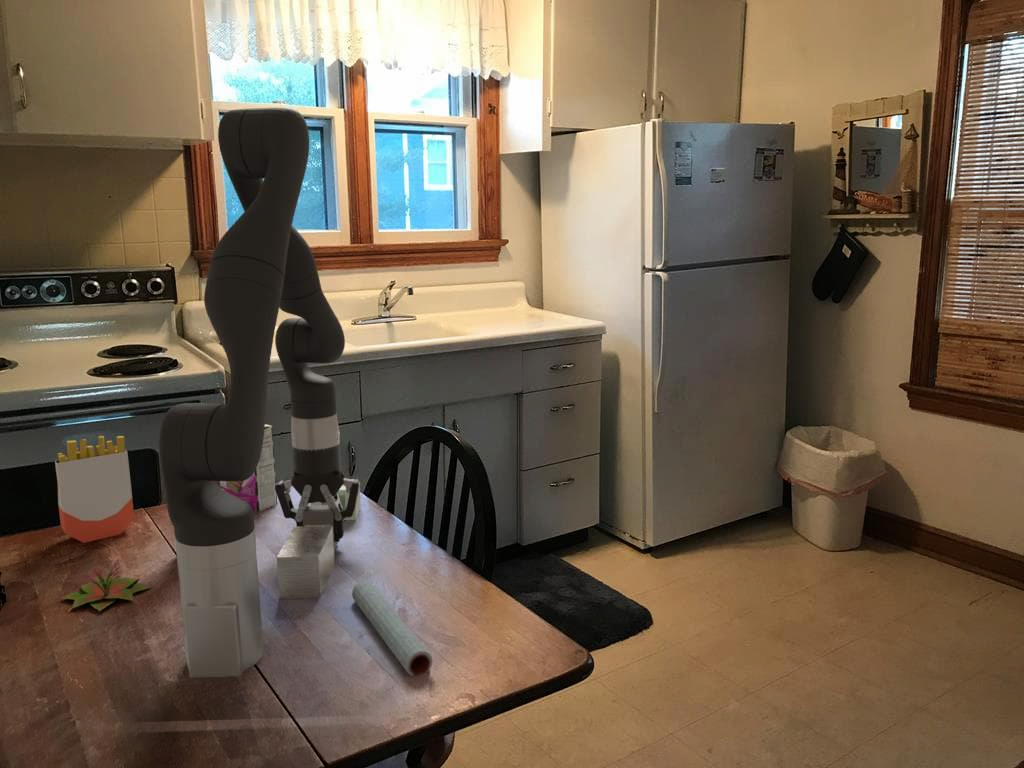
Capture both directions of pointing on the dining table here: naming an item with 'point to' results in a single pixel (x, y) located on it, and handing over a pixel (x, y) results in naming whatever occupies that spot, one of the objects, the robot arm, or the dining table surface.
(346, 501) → the socket block
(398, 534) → the dining table surface
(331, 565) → the cream rectangular block
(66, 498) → the french fries container
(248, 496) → the candy bar box
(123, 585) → the lily flower
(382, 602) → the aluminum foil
